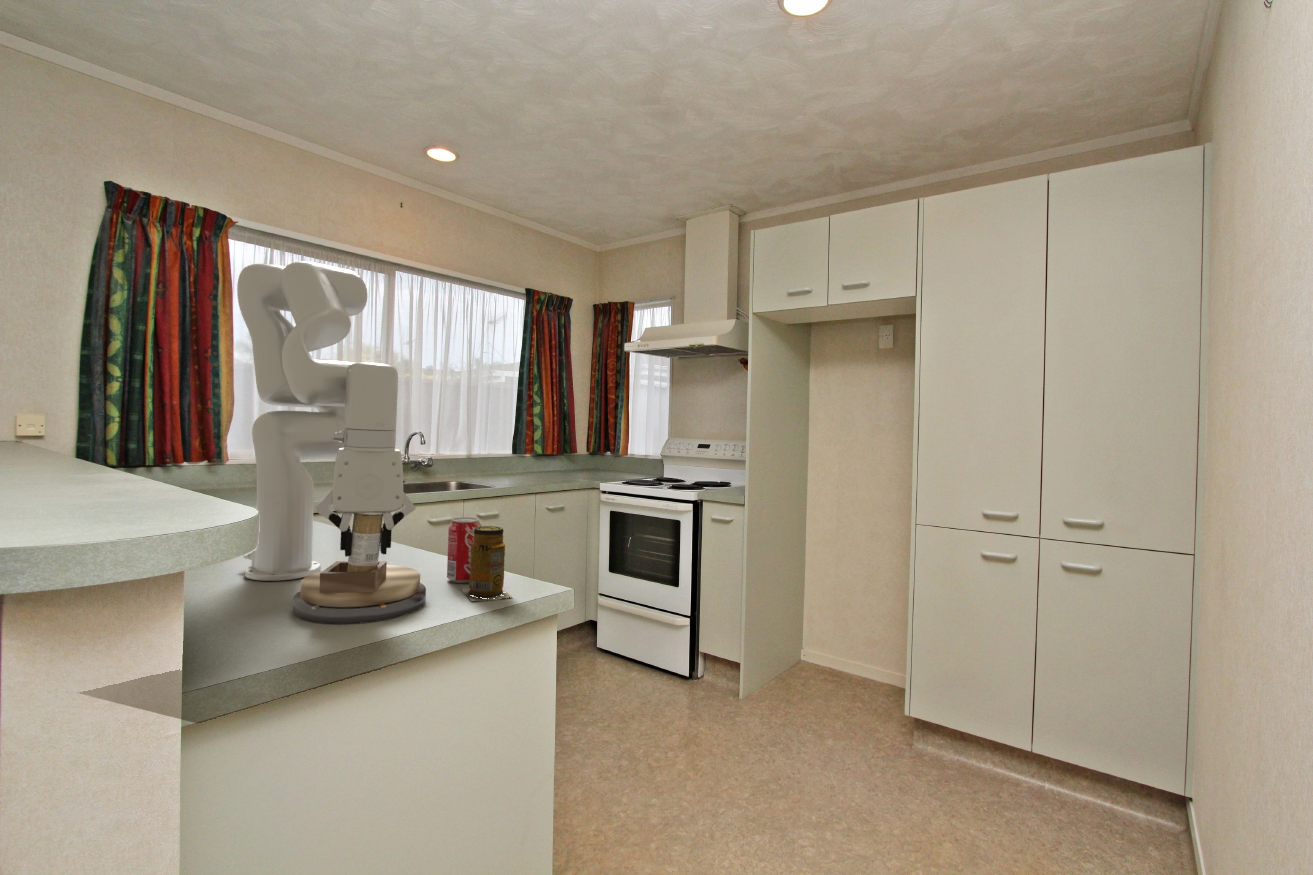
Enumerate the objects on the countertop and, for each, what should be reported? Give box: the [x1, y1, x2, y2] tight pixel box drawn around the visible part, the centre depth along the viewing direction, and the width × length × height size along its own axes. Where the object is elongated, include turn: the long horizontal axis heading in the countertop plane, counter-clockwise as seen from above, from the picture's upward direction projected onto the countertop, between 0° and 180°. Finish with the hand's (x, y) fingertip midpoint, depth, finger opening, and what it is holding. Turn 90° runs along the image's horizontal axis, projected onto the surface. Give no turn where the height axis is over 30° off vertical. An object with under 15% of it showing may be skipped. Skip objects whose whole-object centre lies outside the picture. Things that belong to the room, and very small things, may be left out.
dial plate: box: [292, 582, 427, 625], centre depth 103 cm, size 20×20×2 cm
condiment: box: [461, 525, 513, 602], centre depth 112 cm, size 7×8×12 cm
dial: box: [300, 560, 421, 607], centre depth 103 cm, size 18×18×5 cm
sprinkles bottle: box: [347, 513, 383, 572], centre depth 98 cm, size 5×5×14 cm
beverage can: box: [446, 516, 482, 584], centre depth 120 cm, size 6×6×12 cm
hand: (365, 552), depth 99 cm, fingers open, 4 cm apart
